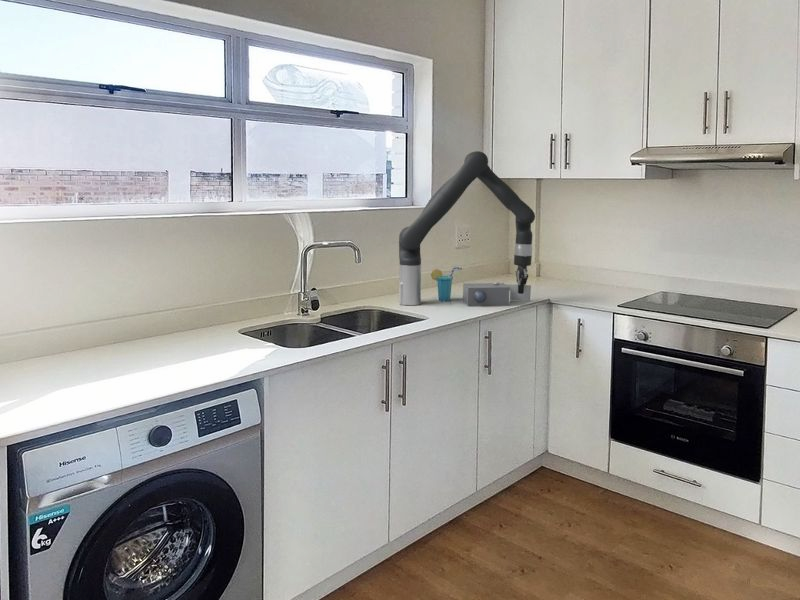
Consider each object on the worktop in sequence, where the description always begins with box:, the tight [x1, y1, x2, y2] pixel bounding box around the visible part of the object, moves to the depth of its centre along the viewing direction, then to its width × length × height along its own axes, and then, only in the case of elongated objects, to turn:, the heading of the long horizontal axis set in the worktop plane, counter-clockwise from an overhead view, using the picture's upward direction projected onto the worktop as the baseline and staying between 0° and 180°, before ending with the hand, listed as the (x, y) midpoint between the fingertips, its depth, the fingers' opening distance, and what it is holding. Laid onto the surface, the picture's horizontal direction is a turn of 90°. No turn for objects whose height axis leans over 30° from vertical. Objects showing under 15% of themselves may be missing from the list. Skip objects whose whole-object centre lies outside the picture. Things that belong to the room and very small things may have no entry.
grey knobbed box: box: [462, 281, 511, 307], centre depth 298 cm, size 18×14×9 cm
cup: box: [430, 266, 463, 302], centre depth 306 cm, size 14×8×15 cm, turn 104°
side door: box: [505, 283, 532, 302], centre depth 305 cm, size 2×12×7 cm, turn 76°
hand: (520, 293), depth 301 cm, fingers closed
